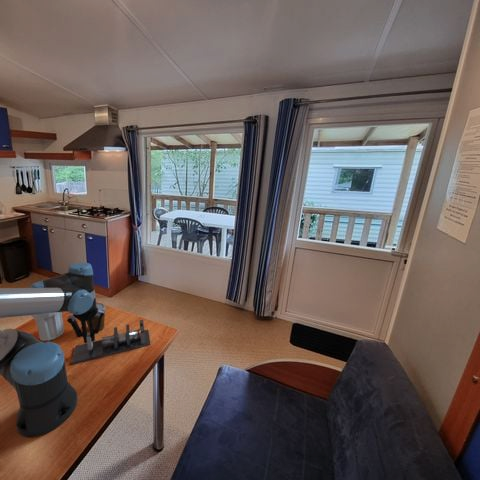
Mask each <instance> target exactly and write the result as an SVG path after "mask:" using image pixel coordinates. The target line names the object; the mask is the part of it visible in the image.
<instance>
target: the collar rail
mask: <svg viewBox="0 0 480 480" xmlns="http://www.w3.org/2000/svg"><path fill="white" fill-rule="evenodd" d="M125 328H126V331H125V332H126V334H127V341H126V342H122V343H117V334H119V333H118V326H115V327H113V335H114V345H109V346H105V347H102V339H99V340H94V341H93V347H92V349H91V350H88V347H87V343H82V344H77V345H75V347H74V350H73V355H72V359H71V365H76V364H80V363H85V362H87V361H92V360H95V359H99V358H104V357H107V356H111V355H115V354H119V353H123V352H127V351H130V350H134V349H135V350H136V349H138V348H139V349H140V348H143V347H146V346H150V345H151V338H150V332H149V329H145V326H144V319H139V329H140V330H141V338H140V339H135V340H130V333H129V332H130V331H131V330H130V324H125Z"/></svg>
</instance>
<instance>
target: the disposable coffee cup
mask: <svg viewBox="0 0 480 480" xmlns="http://www.w3.org/2000/svg"><path fill="white" fill-rule="evenodd" d="M96 306H97V308H98V310H100V311H102V310H104V316H103V317H102V319H101V323H100V328H99V332H101V331H103V329H105V317H106V309H107V306H106V305H105V304H104V303H102V302H96ZM97 321H98V314H96V315H95V317H94V318H93V324H94V330H95V329H96V326H97ZM86 326H87V329H88V330H89V331H88V332H90V328H89V322H88V320H86Z"/></svg>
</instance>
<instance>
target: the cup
mask: <svg viewBox="0 0 480 480" xmlns="http://www.w3.org/2000/svg"><path fill="white" fill-rule="evenodd" d="M62 313H63V312H55V313H45V314H36V315H30V316H31V318H33V319H34V320H35V324H36V329H37V332H38V335H39V336H38V337H39V339H38V340H39V341H40V342H44V343H46V342H52V341H55V340H57V338H58V339H59V338H60V337H62V336H63V335H64V334H65V328H64V320H63V314H62Z"/></svg>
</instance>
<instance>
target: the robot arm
mask: <svg viewBox="0 0 480 480" xmlns="http://www.w3.org/2000/svg"><path fill="white" fill-rule="evenodd" d="M67 269H68V271H67V272H65V273H63V274H59V275H57V276H53V277H50V278H45V279H43V280H39V281H37V282H34V283H32V284H30V285H29V286H28V287H2V288H1V287H0V319H5V318H12V317H13V318H14V317H15V318H17V317H24V316H31V315H36V314H45V313H55V312H62V313H65V312H68V313H69V314H71V315H69V316H68V317H67V322H68V323H69V324H70V325H71V327H72V328H73V331H74V332H75V334H76V336H77V338H83V344H86V343H87V347H88V350H91V349H92V347H93V342H95V341H96V340H95V338H96V336H95V335H97V334H99V332H100V331H99V328H100V323H101V319H102V317H103V316H104V310H102V311H100V310H98V308H97V306H96V303H97V300H96V291H95V290H96V289H95V280H94V270H93V267H92V264H91V263H88V262H76V263H73V264H71V265H69V266H68V268H67ZM96 314H98V321H97V326H96V329H95V330H94V324H93V318H94V317H95V315H96ZM76 319H77V320H79V322H80V325H79V324H78V321H77V320H76ZM86 320H88V322H89V328H90V331H89V333H88V329H89V328H88V326H87V322H86ZM80 326H81V327H80ZM65 361H66V360H65V354H64V351H63V350H62V347H61V346H60V345H59V344H57V343H56V342H52V341H49V342H43V341H40V339H38V338H36V337H35V336H34V335H33V334H31V333H29V332H27V331H23V330H17V329H14V328H6V329H3V330H2V329H1V330H0V376H1V377H2V378H4V379H5V381H7V383H8V384H10V385H11V386H12V388H13V389H14V390H15V392H16V395H17V398H18V403H19V408H18V411H17V416H16V420H15V425H16V429H17V432H18V434H20V435H21V436H23V437H25V438H34V437H39V436H43V435H45V434H46V435H47V433H50V432H52V431H53V430H55V429H57V428H58V427H60V426H61V425H62V424H63V423H64V422H65V421H67V419H68V418H70V417H71V415H72V414H73V413H74V411H75V410H76V407H77V405H78V400H79V399H78V393H77V390H76V388H74V386H73V385H72V384H71V383H70V382H68V381H69V380H68V375H67V374H68V373H67V368H66V362H65Z"/></svg>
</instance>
